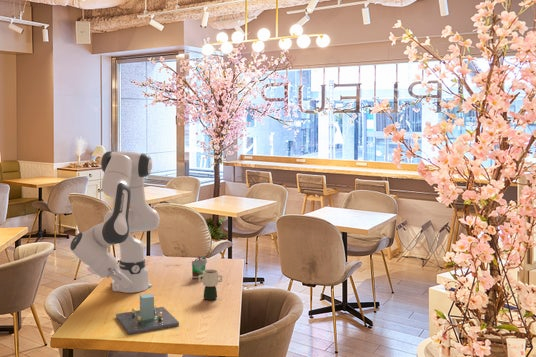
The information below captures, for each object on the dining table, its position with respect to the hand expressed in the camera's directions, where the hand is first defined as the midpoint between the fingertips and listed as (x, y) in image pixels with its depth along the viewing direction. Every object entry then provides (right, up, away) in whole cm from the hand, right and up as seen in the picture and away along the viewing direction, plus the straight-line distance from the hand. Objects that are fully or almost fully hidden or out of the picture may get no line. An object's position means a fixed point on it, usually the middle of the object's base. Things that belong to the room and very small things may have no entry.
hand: (131, 287), depth 207 cm
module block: (+5, -13, +4) cm, 15 cm away
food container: (+19, -9, +68) cm, 71 cm away
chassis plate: (+5, -15, +4) cm, 16 cm away
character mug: (+27, -13, +34) cm, 45 cm away
